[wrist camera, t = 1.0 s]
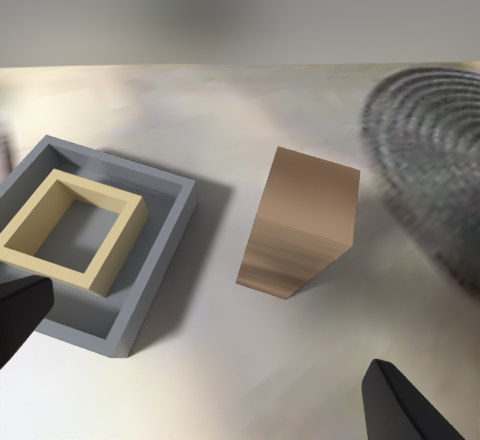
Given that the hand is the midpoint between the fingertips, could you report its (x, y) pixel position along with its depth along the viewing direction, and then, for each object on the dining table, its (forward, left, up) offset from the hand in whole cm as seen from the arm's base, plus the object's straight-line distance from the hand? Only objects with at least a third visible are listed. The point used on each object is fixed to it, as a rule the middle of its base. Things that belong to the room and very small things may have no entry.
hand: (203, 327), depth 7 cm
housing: (+9, +10, -14) cm, 20 cm away
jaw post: (+6, -5, -14) cm, 17 cm away
